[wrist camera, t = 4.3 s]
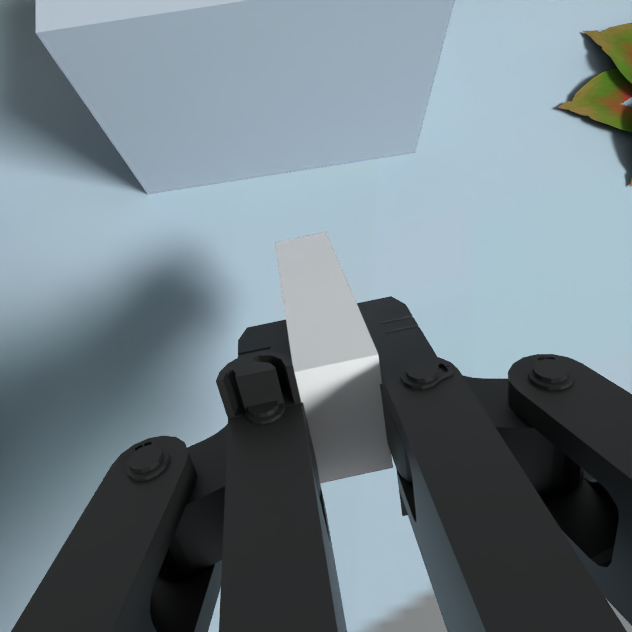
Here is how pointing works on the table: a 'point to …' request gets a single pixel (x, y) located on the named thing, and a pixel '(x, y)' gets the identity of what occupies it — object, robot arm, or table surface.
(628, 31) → the lily flower
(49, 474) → the table surface
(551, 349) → the table surface
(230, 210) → the table surface
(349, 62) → the white block
